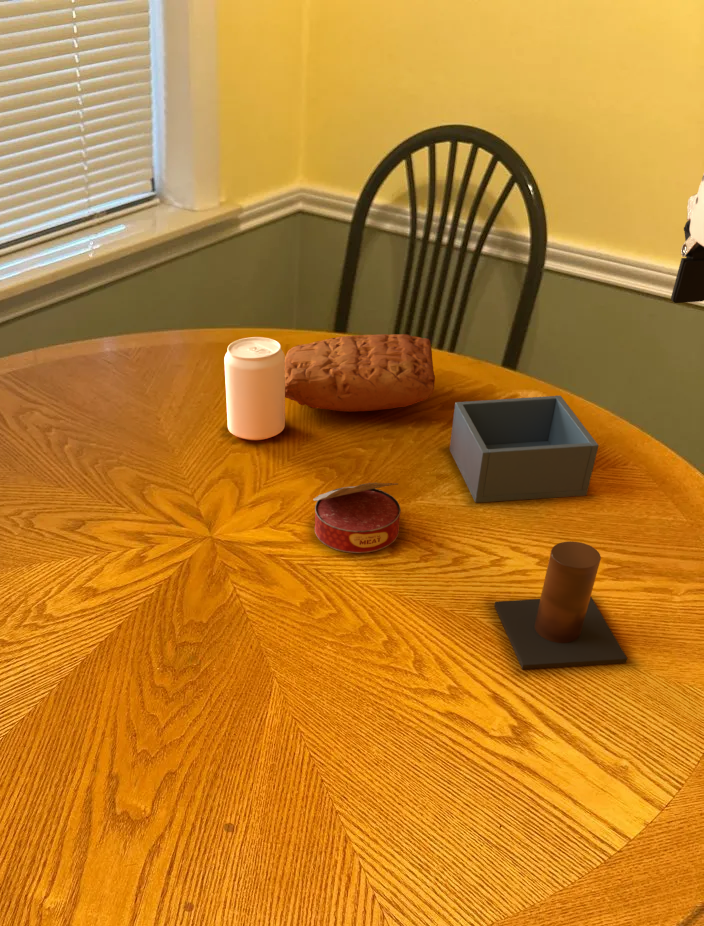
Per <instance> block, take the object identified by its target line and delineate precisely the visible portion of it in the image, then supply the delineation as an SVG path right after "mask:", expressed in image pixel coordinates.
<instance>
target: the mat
mask: <svg viewBox="0 0 704 926" xmlns="http://www.w3.org/2000/svg"><path fill="white" fill-rule="evenodd" d="M539 603H540V598H534V599H533V598H532V599H517V600H516V599H515V600H501V601H494V605H493V606H494V609H495V611H496V613H497V615H498V617H499V620H500V623H501V624H502V627H503V629H504V631H505V634H506V636H507V638H508V641H509V643H510V645H511V647H512V649H513V652H514V654H515V657H516V658H517V661H518V663H519V665H520V668H521V670H535V669H536V670H537V669H551V668H568V667H569V668H570V667H583V666H585V667H586V666H599V665H614V664H615V665H617V664H626V663H627V661H628V657H627V655H626V653H625V651H624V650H623V648H622V647H621V645H620V643H619V642H618V640H617V638H616V636H615V635H614V633H613V631H612V630H611V628H610V626H609V625H608V623H607V621H606V619H605V618H604V616H603V614H602V613H601V611H600V609H599V607H598V605H597V603H596V602H595V601H594V599H593V597H592V596H591V597H590V601H589V605H588V608H587V612H586V616H585V619H584V623H583V627H582V631H581V634H580V636H579V638H577V639H576V640H574V641H572V642H568V643H557V642H552V641H549V640H546V639H544V638H543V637H541V636H540V635H539V634H538V633H537V632H536V630H535V621H536V616H537V612H538V607H539Z"/></svg>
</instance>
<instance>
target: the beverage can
mask: <svg viewBox="0 0 704 926" xmlns="http://www.w3.org/2000/svg"><path fill="white" fill-rule="evenodd" d="M285 357H286V355H285V353H284V351H283V349H282V345H281V343H280V342H279V341H277V340H275V339H273V338H270V337H263V336H252V337H251V336H250V337H243V338H239V339H236V340H234V341H232V342H231V343H229V345H228V346H227V351H226V352H225V355H224V359H223V363H224V381H225V398H226V400H225V402H226V418H227V419H226V420H227V430H228V431H229V432H230V433H231V434H232V435H233V436H234V437H237V438H240V439H243V440H248V441H262V440H267V439H270V438H272V437H275V436H277V435H279V434H281V433H282V432H283V431H284V429H285V427H286V397H285Z"/></svg>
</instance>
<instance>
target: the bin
mask: <svg viewBox="0 0 704 926" xmlns="http://www.w3.org/2000/svg"><path fill="white" fill-rule="evenodd" d="M453 411H454V412H453V418H452V426H451V434H450V435H451V436H450V442H449V452H450V454H451V455H452V458H453V460H454V461H455V464H456V466H457V468H458V470H459V472H460V474H461V477H462V478H463V480H464V483H465V485H466V487H467V489H468V491H469V493H470V495H471V497H472V499H473V501H474V503H475V504H477V503H493V502H509V501H525V500H539V499H541V500H542V499H553V498H569V497H586V496H588V492H589V486H590V482H591V478H592V475H593V474H592V473H593V470H594V467H595V462H596V458H597V454H598V449H599V444H598V442H597V441H596V440H595V438H594V437H593V436H592V435H591V433H590V432H589V431H588V429H587V428H586V427H585V426H584V424H583V423H582V421H581V420H580V419H579V417H578V416H577V415H576V414H575V412H574V410H572V409H571V407H570V406H569V404H567V402H566V401H565V399H564V398H563V397H562V395H549V396H548V395H545V396H532V397H531V396H530V397H516V398H501V399H486V400H485V399H484V400H483V399H482V400H470V401H455V402H454V409H453Z"/></svg>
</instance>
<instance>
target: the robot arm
mask: <svg viewBox="0 0 704 926" xmlns="http://www.w3.org/2000/svg"><path fill="white" fill-rule="evenodd" d="M686 210H687V211H686V222H685V224H684V226H683V231H684V242H683V244H682V245H681V248H680V256H681V259H680V262H679V266H678V269H677V274H676V277H675V281H674V285H673V289H672V293H671V296H670V301H672V302H673V303H674V304H681V303H682V304H684V303H685V304H686V303H699V302H704V173H703V175H702V178H701V181H700V184H699V186H698V191H697V193H695V194H692V195H691V196H690V197H689V198H688V200H687V209H686Z"/></svg>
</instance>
